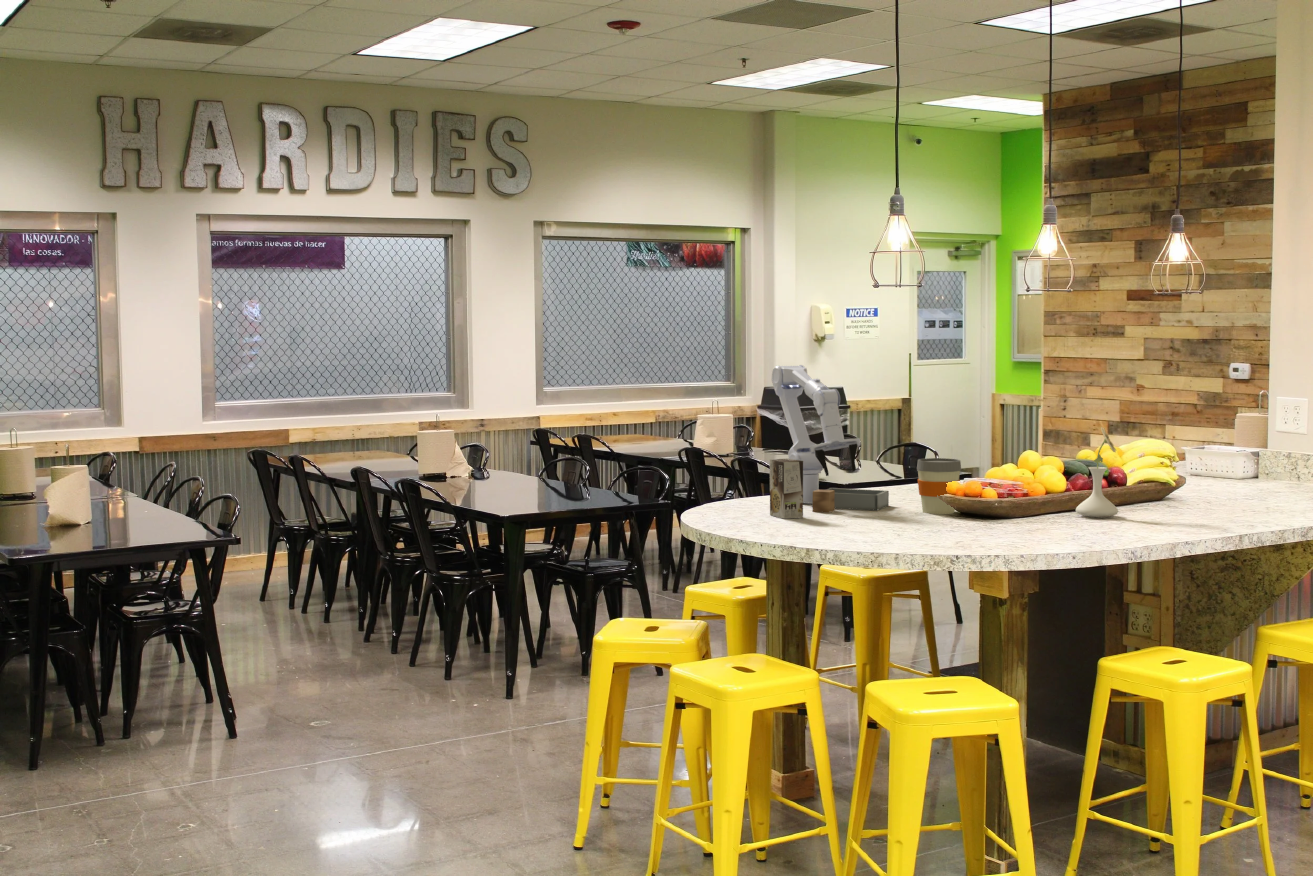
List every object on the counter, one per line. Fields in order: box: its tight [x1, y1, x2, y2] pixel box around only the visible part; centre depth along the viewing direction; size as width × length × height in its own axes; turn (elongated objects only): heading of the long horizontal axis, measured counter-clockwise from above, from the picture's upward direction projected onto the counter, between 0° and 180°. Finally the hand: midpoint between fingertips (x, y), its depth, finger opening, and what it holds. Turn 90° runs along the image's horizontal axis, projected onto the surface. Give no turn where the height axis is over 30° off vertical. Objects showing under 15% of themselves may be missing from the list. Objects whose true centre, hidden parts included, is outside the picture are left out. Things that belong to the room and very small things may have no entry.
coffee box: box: [769, 458, 804, 520], centre depth 381 cm, size 9×6×16 cm
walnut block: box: [812, 489, 835, 514], centre depth 393 cm, size 5×5×6 cm
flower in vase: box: [1075, 426, 1119, 518], centre depth 377 cm, size 13×11×25 cm
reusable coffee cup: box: [916, 457, 962, 515], centre depth 389 cm, size 13×13×15 cm
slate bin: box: [826, 487, 890, 511], centre depth 402 cm, size 18×12×4 cm, turn 65°
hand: (840, 472), depth 392 cm, fingers open, 7 cm apart
